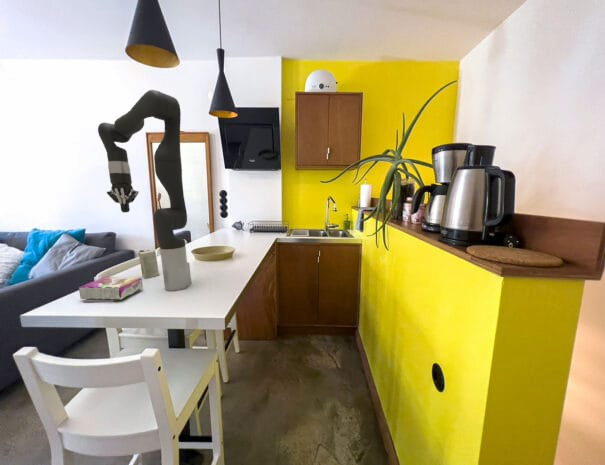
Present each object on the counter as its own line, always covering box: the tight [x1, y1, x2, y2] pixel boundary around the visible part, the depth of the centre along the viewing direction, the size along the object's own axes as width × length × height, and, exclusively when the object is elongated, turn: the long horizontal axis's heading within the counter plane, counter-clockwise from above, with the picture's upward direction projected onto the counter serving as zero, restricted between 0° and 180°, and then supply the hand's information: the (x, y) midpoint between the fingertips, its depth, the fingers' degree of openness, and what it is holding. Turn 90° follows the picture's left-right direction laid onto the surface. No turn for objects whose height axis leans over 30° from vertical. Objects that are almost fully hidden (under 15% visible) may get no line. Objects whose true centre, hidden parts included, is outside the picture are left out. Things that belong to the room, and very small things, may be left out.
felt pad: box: [82, 299, 117, 304], centre depth 94 cm, size 11×14×1 cm
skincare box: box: [138, 249, 160, 279], centre depth 113 cm, size 6×4×12 cm
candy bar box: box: [78, 276, 144, 301], centre depth 92 cm, size 11×5×16 cm
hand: (125, 212), depth 107 cm, fingers closed
